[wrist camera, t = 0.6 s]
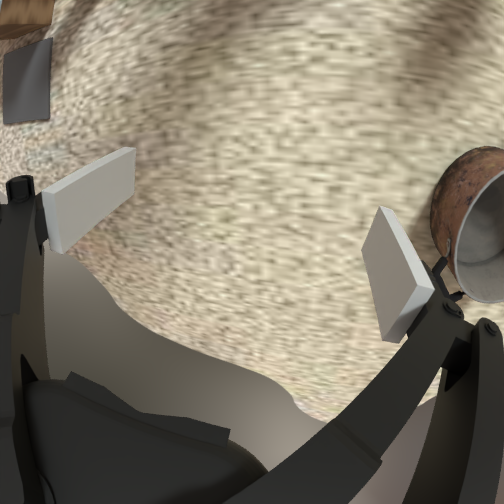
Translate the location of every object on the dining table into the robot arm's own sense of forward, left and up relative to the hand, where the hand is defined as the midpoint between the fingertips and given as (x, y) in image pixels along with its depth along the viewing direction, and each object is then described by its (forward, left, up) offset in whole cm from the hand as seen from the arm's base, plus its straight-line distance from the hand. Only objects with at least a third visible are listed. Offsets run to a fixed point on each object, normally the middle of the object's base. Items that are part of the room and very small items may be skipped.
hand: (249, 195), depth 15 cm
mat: (-8, -50, -28) cm, 58 cm away
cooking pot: (+5, +35, -29) cm, 46 cm away
